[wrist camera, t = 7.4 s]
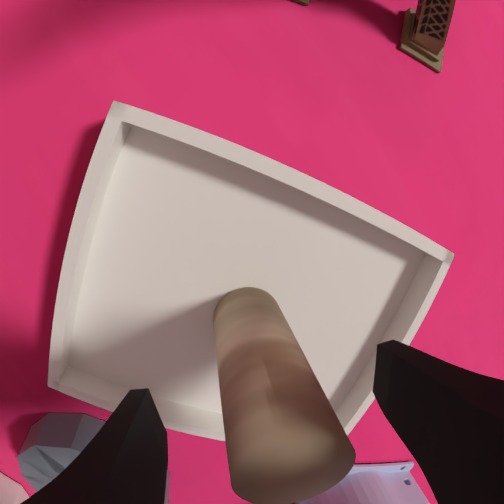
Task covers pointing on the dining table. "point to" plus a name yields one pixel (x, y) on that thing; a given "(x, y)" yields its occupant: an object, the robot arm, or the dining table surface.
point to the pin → (273, 406)
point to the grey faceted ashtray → (58, 446)
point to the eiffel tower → (424, 31)
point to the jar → (11, 491)
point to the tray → (223, 272)
